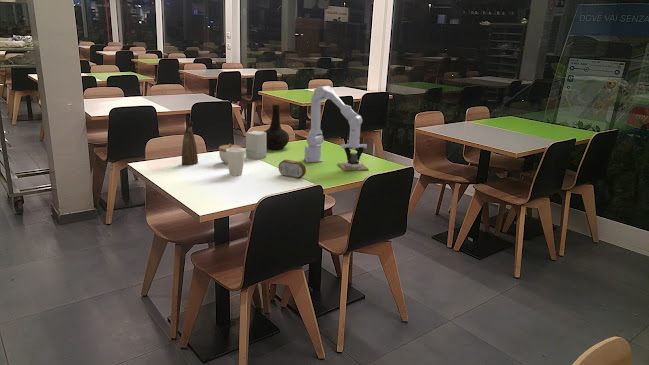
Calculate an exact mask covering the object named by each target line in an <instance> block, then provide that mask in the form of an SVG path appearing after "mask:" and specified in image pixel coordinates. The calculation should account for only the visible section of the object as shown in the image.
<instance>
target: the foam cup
mask: <svg viewBox="0 0 649 365" xmlns="http://www.w3.org/2000/svg"><path fill="white" fill-rule="evenodd" d="M226 155H227V160H228V164H227V165H228V172H229V175H230V176H233V177H238V176H242V175H243V169H244V160H245V156H246V148H243V147H242V148H228V149H226Z"/></svg>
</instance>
